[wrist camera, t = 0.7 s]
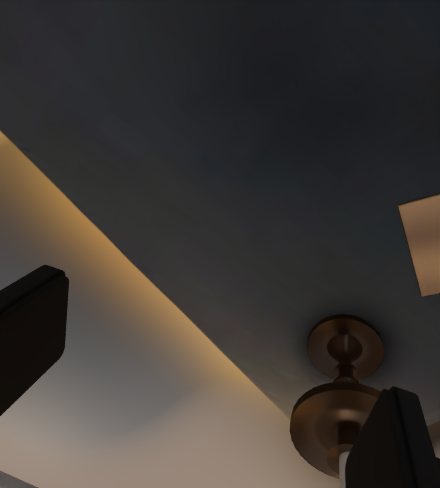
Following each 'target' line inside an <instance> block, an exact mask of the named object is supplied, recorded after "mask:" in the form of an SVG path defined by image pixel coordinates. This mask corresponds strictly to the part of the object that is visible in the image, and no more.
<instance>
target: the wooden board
mask: <svg viewBox="0 0 440 488" xmlns="http://www.w3.org/2000/svg"><path fill="white" fill-rule="evenodd" d="M398 208H399V212H400V215H401V219H402V223H403V227H404V231H405V234H406V238H407V242H408V246H409V250H410V254H411V257H412V261H413V265H414V269H415V273H416V276H417V280H418V284H419V288H420V292H421V295H422V296H427V295H432V294H437V293H440V194H437V195H434V196H430V197H427V198H423V199H419V200H416V201H412V202H408V203H405V204H401V205H398Z"/></svg>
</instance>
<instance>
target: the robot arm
mask: <svg viewBox="0 0 440 488" xmlns="http://www.w3.org/2000/svg"><path fill="white" fill-rule="evenodd" d="M68 289H69V279H68V278H67V277H65V272H64V271H63V270H60V269H57V268H54V267H51V266H48V265H43V266H41V267H39V268H38V269H36V270H34V271H32V272H31V273H29V274H27V275H26V276H24V277H22V278H21V279H19V280H17V281H16V282H14V283H12V284H10V285H9V286H7V287H5V288H4V289H2V290H0V416H1V415H2V414H3V413H4V412H5V411H6V410H7V409H8V408H9V407H10V406H11V405H12V404H13V403H14V402H15V401H16V400H17V399H19V397H21V396H22V395H23V394H24V393H25V392H26V391H27V390H28V389H29V388H30V387H31V386H32V385H33V384H34V383H35V382H36V381H37V380H38V379H39V378H40V377H41V376H42V375H43V374H44V373H45V372H46V371H47V370H48V369H49V368H50V367H51V366H52V365H53V364H54V363H55V362H57V360H59V358H60V357H61V356H62V354H63V351H64V349H65V336H66V320H67V305H68ZM0 488H38V487H35V486H33V485H31V484H29V483H26V482H24V481H22V480H19V479H17V478H15V477H13V476H11V475H8V474H6V473H4V472H2V471H0ZM345 488H440V459H439V458H437V457H435V453H434V450H433V447H432V443H431V439H430V436H429V432H428V429H427V426H426V422H425V419H424V415H423V412H422V408H421V405H420V401H419V398H418V396H417V395H416V394H415V393H412V392H409V391H406V390H403V389H400V388H398V387H395V386H394V387H392V388H390V390H386V389H383V390H382V392H381V393H380V395H379V397H378V399H377V401H376V403H375V405H374V407H373V409H372V411H371V412H370V414H369V416H368V418H367V420H366V422H365V424H364V426H363V428H362V430H361V432H360V434H359V435H358V437H357V439H356V441H355V443H354V445H353V447H352V449H351V451H350V453H349V455H348V457H347V460H346V464H345Z"/></svg>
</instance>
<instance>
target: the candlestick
mask: <svg viewBox="0 0 440 488" xmlns="http://www.w3.org/2000/svg"><path fill="white" fill-rule="evenodd" d="M307 350H308V355H309V357H310V360H311V361H312V363H313V364H314V366H315V367H316V368H317V369H318V370H320V371H321V372H322V373H324V374H325V375H328V376H330V377H332V378H335V380H334V382H333V383H327V384H323V385H320V386H317V387H314V388H313V389H311V390H309V391H308V392H306V393H305V394H304V395H302V396H301V397H300V398H299V399H298V401H297V402H296V404H295V406H294V408H293V411H292V414H291V421H290V434H291V439H292V442H293V444H294V446H295V448H296V450H297V451H298V452H299V454H300V455H301V456H302V457H303V458H304V459H305V460H306V461H307V462H308V463H309V464H310V465H312V466H313V467H315V468H316V469H318V470H319V471H321V472H323V473H325V474H327V475H330V476H332V477H335V478H338V479H340V488H345V464H346V460H347V457H348V455H349V453H350V451H351V449H352V447H353V445H354V443H355V441H356V439H357V437H358V435H359V434H360V432H361V430H362V428H363V426H364V424H365V422H366V420H367V418H368V416H369V414H370V412H371V411H372V409H373V407H374V405H375V403H376V401H377V399H378V397H379V395H380V393H381V392H380V391H378V390H376V389H374V388H372V387H369V386H365V385H362V384H359V382H358V381H357V380H358V379H362V378H364V377H367V376H369V375H370V374H372V373H373V372H374V371H376V370H377V369H378V367H379V366H380V365H381V362H382V360H383V356H384V348H383V342H382V339H381V337H380V335H379V333H378V332H377V330H376V329H375V328H374V327H373V326H372V325H371V324H369V323H368V322H367V321H365V320H363V319H361V318H358V317H355V316H351V315H335V316H330V317H327V318H325V319H323V320H321V321H320V322H318V323H317V324H316V325H315V326H314V327H313V328H312V330H311V332H310V334H309V337H308V345H307Z"/></svg>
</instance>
